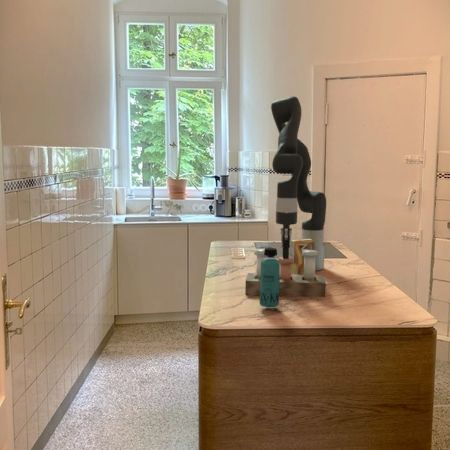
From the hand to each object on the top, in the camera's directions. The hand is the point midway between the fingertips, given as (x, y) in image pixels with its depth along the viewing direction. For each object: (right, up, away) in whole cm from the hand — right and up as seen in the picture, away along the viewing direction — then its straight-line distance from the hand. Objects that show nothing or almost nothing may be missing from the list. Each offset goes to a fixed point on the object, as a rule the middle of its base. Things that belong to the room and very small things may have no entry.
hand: (285, 258), depth 192 cm
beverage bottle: (-7, -15, -20) cm, 26 cm away
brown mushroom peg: (0, -10, +1) cm, 11 cm away
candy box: (+9, -9, +23) cm, 27 cm away
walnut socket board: (0, -12, +2) cm, 12 cm away
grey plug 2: (+8, -8, 0) cm, 12 cm away
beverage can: (-5, -9, +24) cm, 26 cm away
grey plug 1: (-8, -8, +2) cm, 11 cm away
